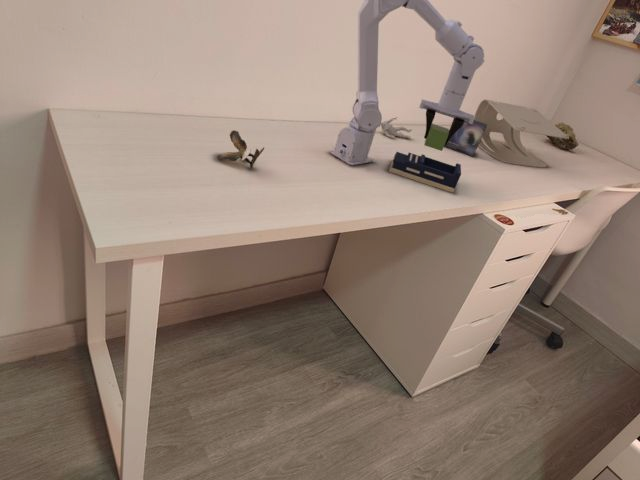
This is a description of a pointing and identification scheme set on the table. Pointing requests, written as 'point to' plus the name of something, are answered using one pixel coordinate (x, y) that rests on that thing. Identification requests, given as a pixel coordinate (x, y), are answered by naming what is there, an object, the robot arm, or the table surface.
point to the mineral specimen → (563, 142)
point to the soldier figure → (393, 129)
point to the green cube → (437, 137)
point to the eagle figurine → (240, 150)
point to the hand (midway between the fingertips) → (435, 140)
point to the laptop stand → (513, 131)
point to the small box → (467, 138)
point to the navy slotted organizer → (426, 170)
